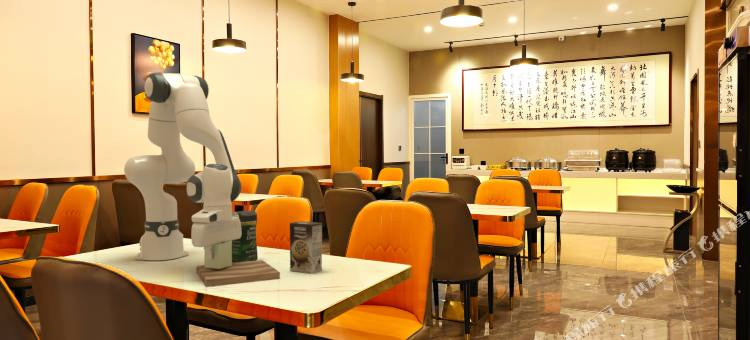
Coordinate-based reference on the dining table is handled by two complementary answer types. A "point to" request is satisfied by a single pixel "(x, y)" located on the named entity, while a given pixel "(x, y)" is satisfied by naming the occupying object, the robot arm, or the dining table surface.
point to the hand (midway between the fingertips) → (218, 256)
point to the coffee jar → (246, 238)
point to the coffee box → (305, 247)
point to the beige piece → (220, 256)
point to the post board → (237, 273)
